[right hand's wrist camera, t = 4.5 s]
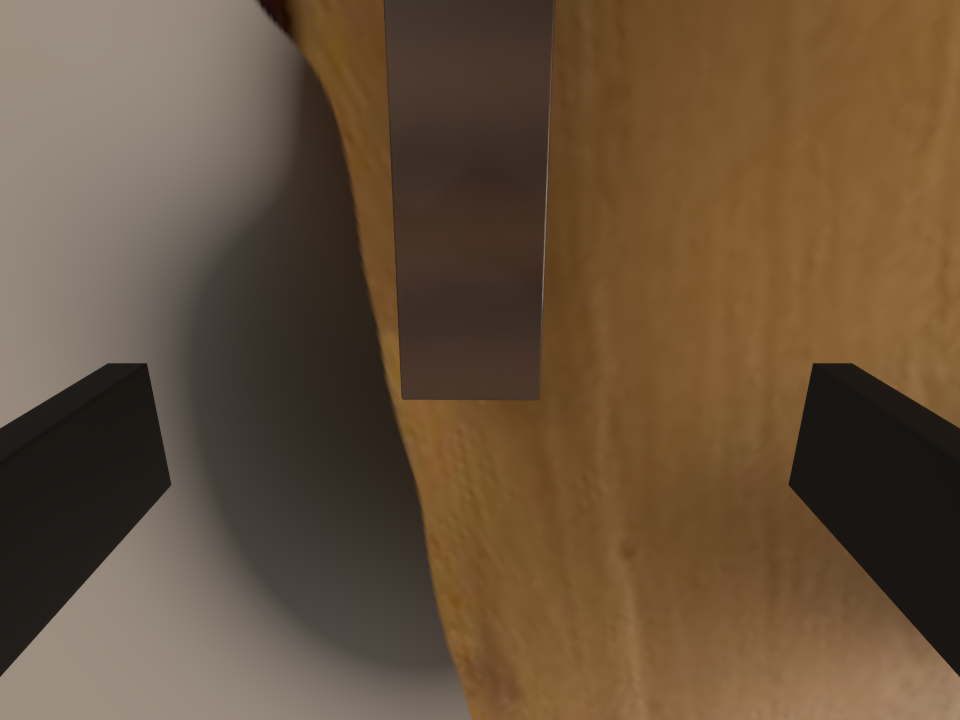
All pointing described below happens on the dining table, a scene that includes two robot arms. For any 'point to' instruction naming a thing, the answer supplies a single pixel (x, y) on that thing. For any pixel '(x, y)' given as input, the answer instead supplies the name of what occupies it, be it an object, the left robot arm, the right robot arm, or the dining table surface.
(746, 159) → the dining table surface
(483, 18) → the walnut beam
